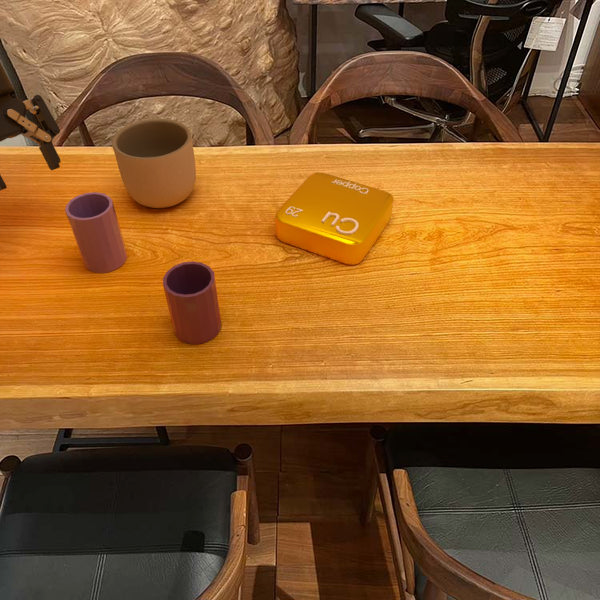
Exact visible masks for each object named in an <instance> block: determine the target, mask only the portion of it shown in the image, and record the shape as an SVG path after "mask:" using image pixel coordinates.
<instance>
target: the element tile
mask: <svg viewBox="0 0 600 600" xmlns="http://www.w3.org/2000/svg"><path fill="white" fill-rule="evenodd" d="M393 206H394V196H393V195H392V194H391V192H388V191H385V190H383V189H379V188H377V187H373V186H369V185H366V184H363V183H359V182H356V181H353V180H350V179H346V178H342V177H339V176H335V175H333V174H329V173H326V172H320V171H319V172H318V171H317V172H314V173H312V174H310V175H309V176H308V177H307V178H306V179H305V180H304V181H303V182H302V183H301V184H300V186H299V187H297V189H296V190H295V191H293V193H292V194H291V195H290V196H289V198H288V199H287V200H286V201H285V202H284V203H283V204H281V206H280V207H279V208H278V209H277V211H276V212H275V215H274V222H275V237H276V239H278V240H279V241H280V242H282V243H284V244H287V245H290V246H293V247H296V248H298V249H302V250H304V251H307V252H311V253H313V254H316V255H318V256H321V257H325V258H327V259H331V260H333V261H336V262H339V263H341V264H344V265H352V266H353V265H358V264H360V263H362V261H364V259H365V258H366V256H367V255H368V253H369V252H370V250H371V249H372V248H373V246H374V245H375V243H376V242H377V240H378V239H379V237H380V236H381V235H382V233H383V232H384V231H385V229H386V228H387V226H388V224H389V223H390V221H391V220H392V214H393V213H392V212H393Z"/></svg>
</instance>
